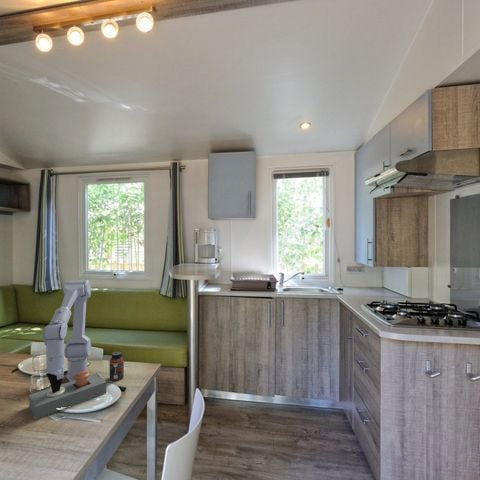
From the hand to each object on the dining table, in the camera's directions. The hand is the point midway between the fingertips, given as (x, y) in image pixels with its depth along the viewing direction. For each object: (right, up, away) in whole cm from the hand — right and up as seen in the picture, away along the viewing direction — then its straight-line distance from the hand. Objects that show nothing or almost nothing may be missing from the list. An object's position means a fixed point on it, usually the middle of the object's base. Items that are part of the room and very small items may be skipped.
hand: (55, 391), depth 110 cm
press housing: (+3, -5, +3) cm, 7 cm away
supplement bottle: (+14, -5, +20) cm, 25 cm away
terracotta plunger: (+6, -1, +6) cm, 9 cm away
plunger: (0, -4, 0) cm, 4 cm away
